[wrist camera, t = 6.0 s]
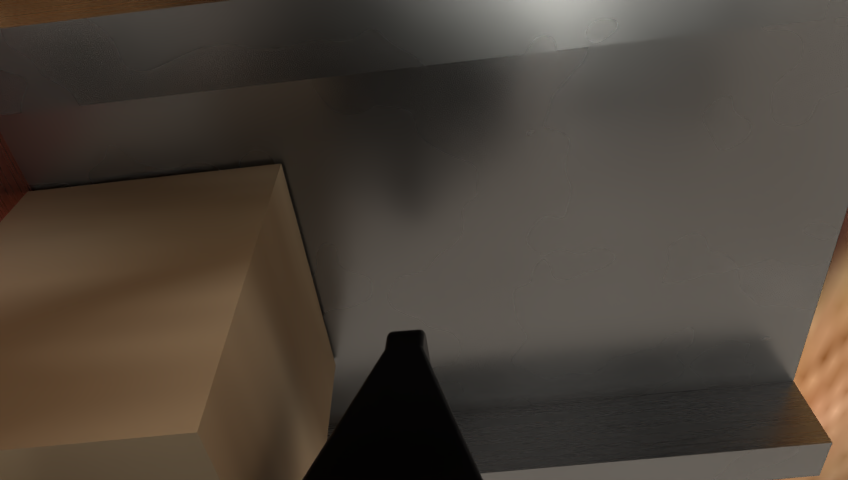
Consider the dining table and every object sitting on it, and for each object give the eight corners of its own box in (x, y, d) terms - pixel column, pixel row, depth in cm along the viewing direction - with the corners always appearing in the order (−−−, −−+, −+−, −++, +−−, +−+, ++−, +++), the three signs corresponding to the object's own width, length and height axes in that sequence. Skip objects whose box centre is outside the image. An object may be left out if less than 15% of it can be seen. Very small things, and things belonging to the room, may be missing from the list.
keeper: (281, 163, 10) (197, 432, 6) (335, 364, 13) (302, 649, 9) (27, 191, 10) (-220, 470, 6) (132, 384, 13) (4, 672, 9)
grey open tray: (900, -131, 9) (1398, -28, 4) (761, 377, 15) (918, 644, 10) (-93, -6, 10) (-531, 195, 5) (150, 434, 15) (45, 708, 11)
